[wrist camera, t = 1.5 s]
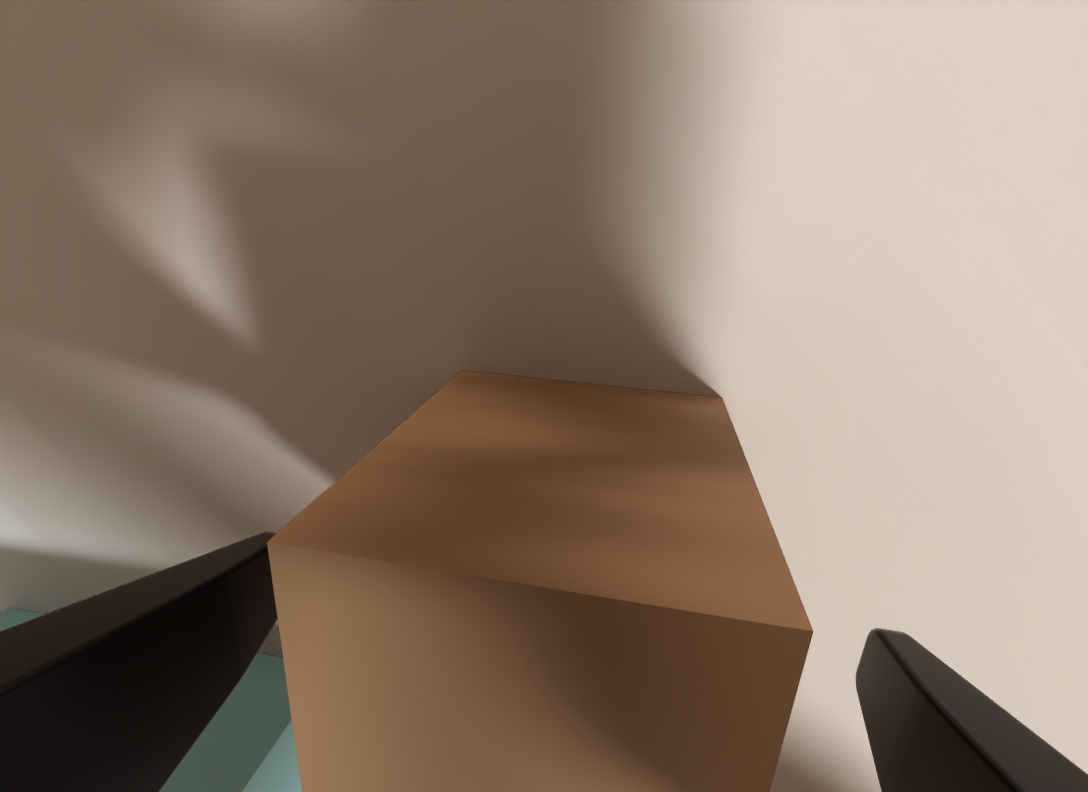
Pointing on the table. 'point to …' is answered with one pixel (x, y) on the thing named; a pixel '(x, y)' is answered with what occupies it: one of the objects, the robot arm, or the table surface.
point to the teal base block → (235, 734)
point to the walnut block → (541, 601)
